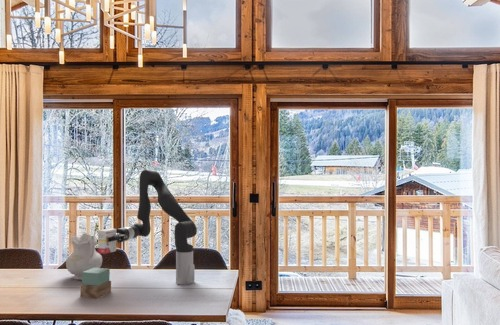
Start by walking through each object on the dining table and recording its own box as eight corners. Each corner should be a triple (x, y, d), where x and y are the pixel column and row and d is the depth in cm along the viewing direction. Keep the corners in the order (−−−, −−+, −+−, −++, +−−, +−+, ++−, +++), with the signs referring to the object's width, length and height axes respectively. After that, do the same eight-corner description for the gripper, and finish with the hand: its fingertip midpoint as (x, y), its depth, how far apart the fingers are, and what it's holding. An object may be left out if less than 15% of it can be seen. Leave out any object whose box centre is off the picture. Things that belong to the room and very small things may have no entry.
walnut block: (110, 292, 197) (111, 280, 197) (97, 299, 187) (97, 286, 187) (94, 291, 200) (94, 279, 200) (80, 297, 190) (80, 284, 190)
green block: (109, 280, 197) (109, 268, 197) (98, 285, 188) (98, 273, 188) (93, 279, 199) (93, 267, 199) (82, 284, 190) (82, 272, 190)
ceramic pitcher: (111, 278, 226) (114, 235, 228) (80, 284, 209) (84, 236, 211) (87, 273, 237) (90, 231, 239) (57, 278, 221) (61, 233, 223)
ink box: (104, 254, 199) (104, 230, 199) (97, 253, 201) (97, 230, 201) (116, 251, 207) (117, 228, 207) (109, 250, 209) (109, 228, 209)
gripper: (113, 226, 220) (92, 231, 204) (135, 228, 215) (115, 232, 199) (113, 240, 220) (92, 246, 203) (135, 241, 215) (115, 247, 199)
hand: (104, 239), depth 201 cm, fingers closed on ink box, 5 cm apart
